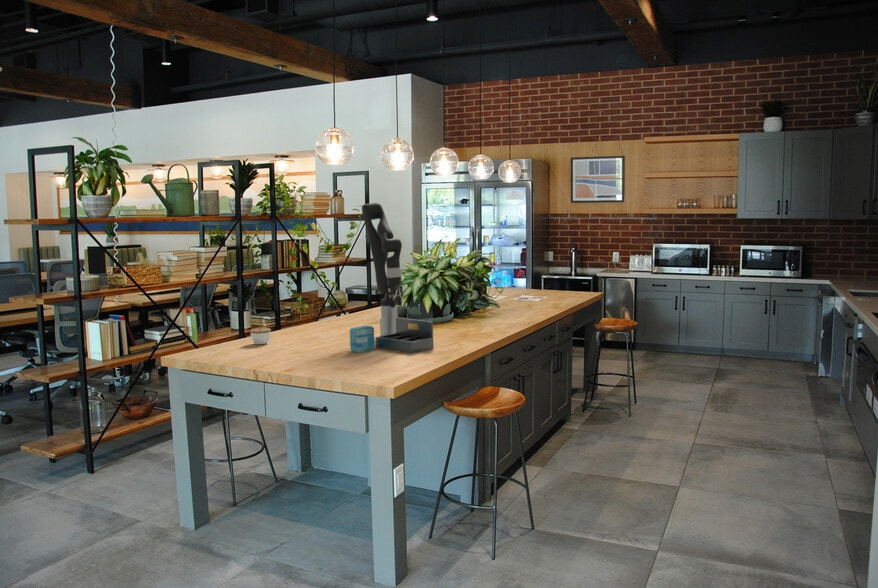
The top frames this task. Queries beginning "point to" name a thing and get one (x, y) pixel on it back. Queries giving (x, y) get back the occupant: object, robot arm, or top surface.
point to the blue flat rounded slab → (362, 339)
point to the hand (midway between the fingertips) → (396, 306)
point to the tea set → (415, 311)
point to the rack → (408, 336)
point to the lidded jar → (260, 335)
